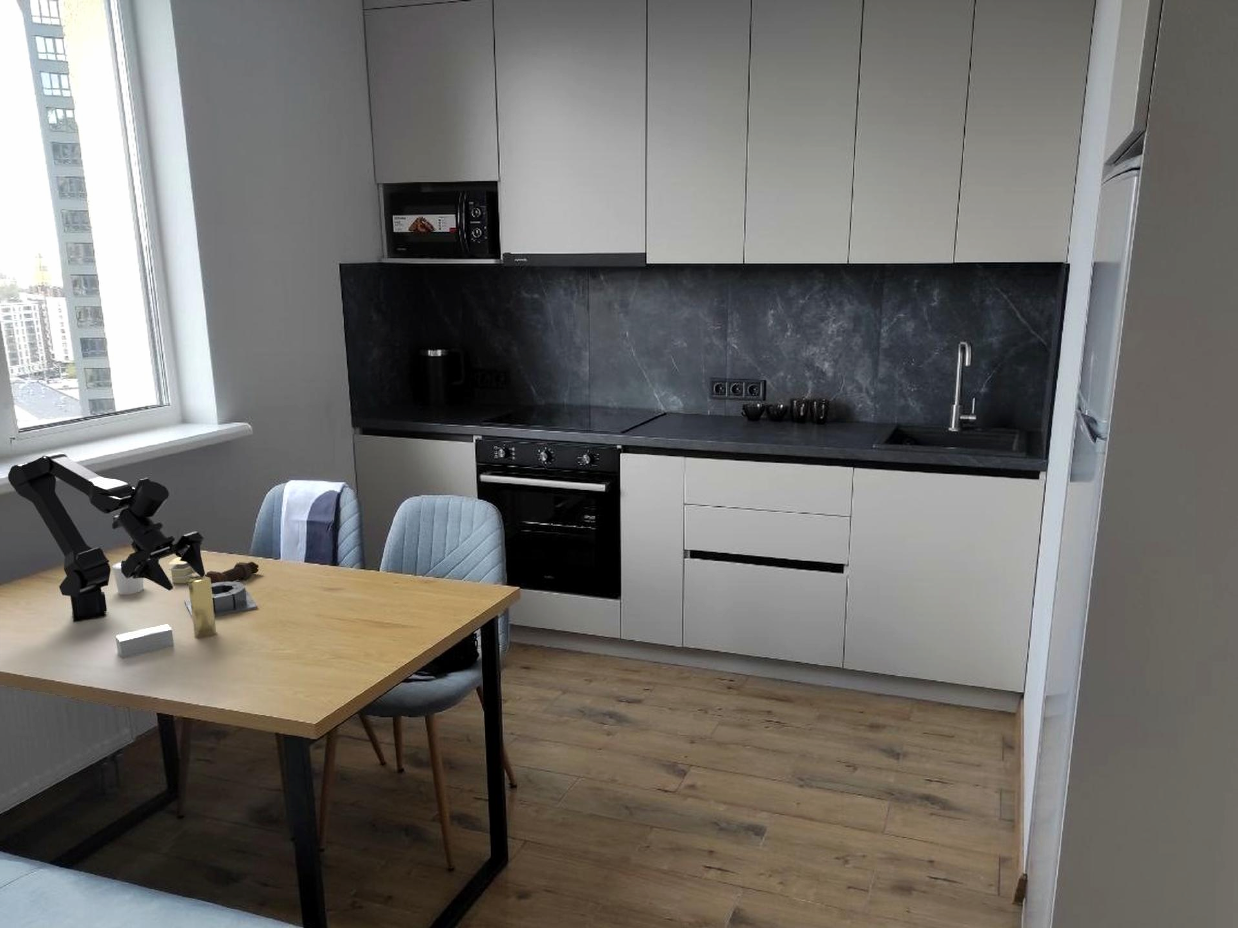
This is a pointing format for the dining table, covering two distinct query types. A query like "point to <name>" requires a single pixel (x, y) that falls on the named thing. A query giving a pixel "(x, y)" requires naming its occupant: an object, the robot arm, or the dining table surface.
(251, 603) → the socket block
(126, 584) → the shot glass
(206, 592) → the pale yellow tall bar
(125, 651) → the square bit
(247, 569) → the bolt
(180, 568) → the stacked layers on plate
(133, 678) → the dining table surface
